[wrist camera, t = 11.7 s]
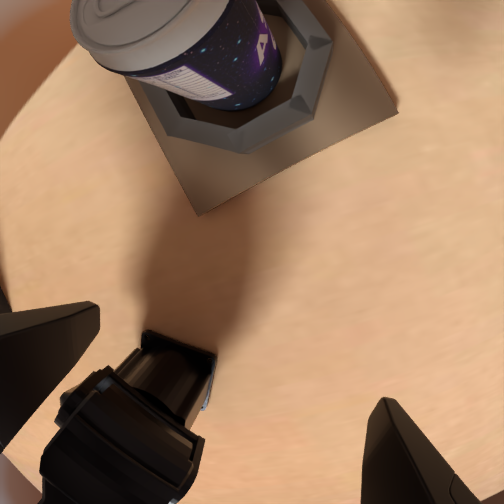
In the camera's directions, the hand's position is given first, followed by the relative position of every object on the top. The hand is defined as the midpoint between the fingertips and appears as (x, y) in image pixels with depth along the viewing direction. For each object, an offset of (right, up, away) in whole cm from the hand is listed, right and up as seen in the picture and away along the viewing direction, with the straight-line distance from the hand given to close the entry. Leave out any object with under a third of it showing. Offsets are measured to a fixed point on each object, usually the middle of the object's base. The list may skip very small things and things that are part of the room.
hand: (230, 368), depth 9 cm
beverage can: (0, +14, +9) cm, 17 cm away
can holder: (0, +15, +10) cm, 18 cm away
